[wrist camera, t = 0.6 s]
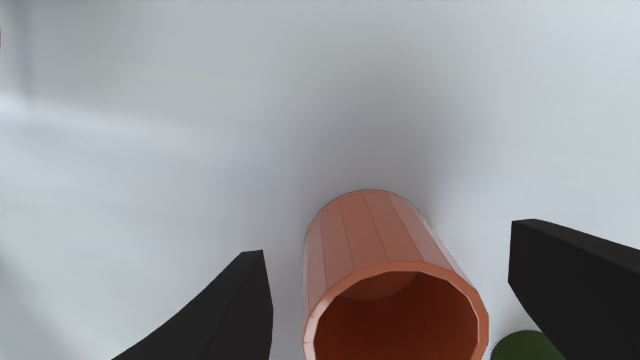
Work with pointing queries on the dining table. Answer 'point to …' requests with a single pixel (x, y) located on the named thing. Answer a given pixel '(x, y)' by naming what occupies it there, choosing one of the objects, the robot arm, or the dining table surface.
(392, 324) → the cup
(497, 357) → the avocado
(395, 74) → the dining table surface
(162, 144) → the dining table surface
